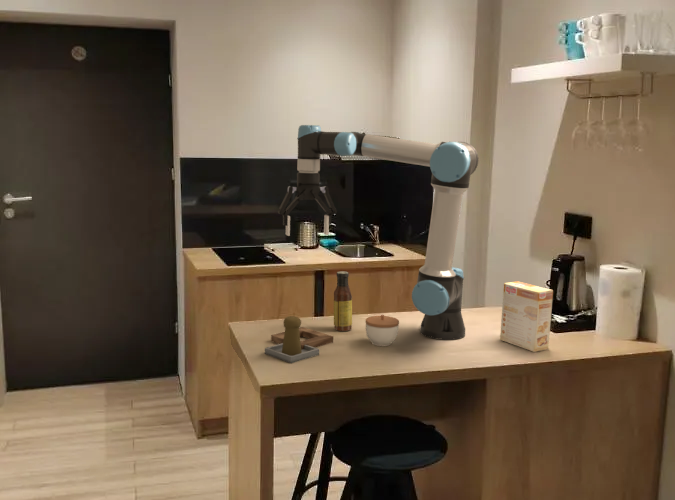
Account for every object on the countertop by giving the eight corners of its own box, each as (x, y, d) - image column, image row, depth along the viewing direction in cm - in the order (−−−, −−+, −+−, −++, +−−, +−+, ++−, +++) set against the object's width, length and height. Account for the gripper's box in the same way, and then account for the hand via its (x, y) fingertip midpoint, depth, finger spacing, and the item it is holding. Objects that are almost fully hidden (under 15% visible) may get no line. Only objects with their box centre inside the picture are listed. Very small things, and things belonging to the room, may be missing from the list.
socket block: (333, 342, 227) (333, 336, 227) (301, 351, 217) (301, 345, 216) (302, 332, 236) (302, 327, 236) (271, 341, 226) (271, 335, 226)
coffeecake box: (549, 349, 226) (554, 289, 223) (533, 352, 222) (538, 292, 219) (514, 337, 239) (518, 280, 235) (499, 339, 235) (503, 282, 231)
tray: (319, 354, 214) (319, 349, 214) (291, 363, 206) (291, 357, 205) (292, 345, 222) (292, 340, 222) (264, 353, 214) (264, 348, 213)
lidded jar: (357, 342, 227) (358, 314, 225) (379, 336, 235) (380, 308, 233) (383, 350, 220) (384, 321, 218) (404, 343, 228) (406, 315, 226)
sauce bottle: (355, 329, 242) (357, 272, 239) (345, 333, 237) (347, 275, 234) (339, 325, 246) (340, 269, 242) (329, 329, 241) (330, 272, 237)
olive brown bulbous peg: (298, 356, 210) (299, 320, 208) (279, 354, 211) (279, 318, 210) (303, 350, 216) (304, 315, 214) (284, 348, 217) (285, 313, 215)
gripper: (340, 171, 244) (338, 232, 247) (269, 170, 236) (268, 233, 239) (347, 172, 237) (345, 235, 240) (274, 172, 229) (273, 237, 232)
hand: (307, 234), depth 240 cm, fingers open, 13 cm apart
